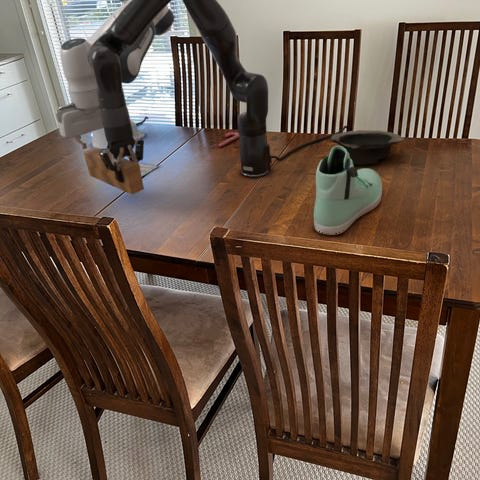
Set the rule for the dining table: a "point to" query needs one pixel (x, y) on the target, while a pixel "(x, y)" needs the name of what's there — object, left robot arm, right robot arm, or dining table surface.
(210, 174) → the dining table surface
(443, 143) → the dining table surface
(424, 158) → the dining table surface
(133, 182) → the bar
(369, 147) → the stone bowl
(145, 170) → the baking ingredient package
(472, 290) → the dining table surface
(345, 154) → the sneaker
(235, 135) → the candy cane
